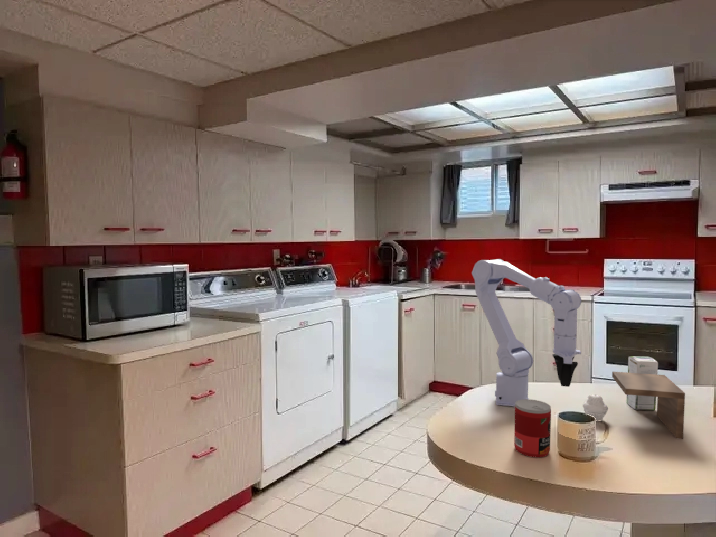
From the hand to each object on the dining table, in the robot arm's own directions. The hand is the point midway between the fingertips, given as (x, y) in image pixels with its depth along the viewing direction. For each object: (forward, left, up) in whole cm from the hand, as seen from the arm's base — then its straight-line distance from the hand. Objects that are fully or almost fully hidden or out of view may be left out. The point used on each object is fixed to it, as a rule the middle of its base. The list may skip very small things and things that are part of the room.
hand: (564, 383), depth 135 cm
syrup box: (+23, +14, -10) cm, 28 cm away
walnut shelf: (+20, 0, -9) cm, 22 cm away
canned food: (-9, -25, -10) cm, 28 cm away
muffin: (+8, 0, -10) cm, 12 cm away
